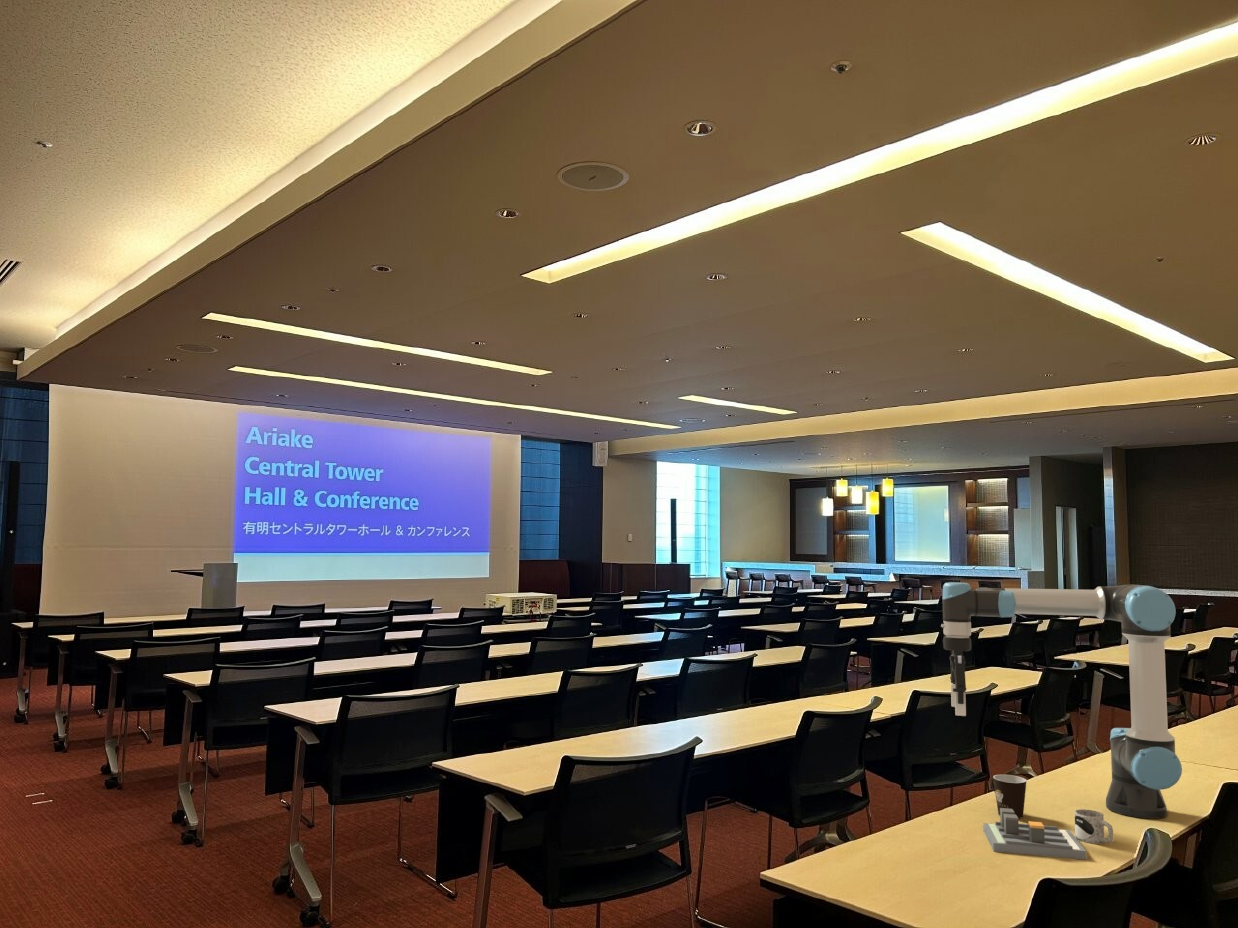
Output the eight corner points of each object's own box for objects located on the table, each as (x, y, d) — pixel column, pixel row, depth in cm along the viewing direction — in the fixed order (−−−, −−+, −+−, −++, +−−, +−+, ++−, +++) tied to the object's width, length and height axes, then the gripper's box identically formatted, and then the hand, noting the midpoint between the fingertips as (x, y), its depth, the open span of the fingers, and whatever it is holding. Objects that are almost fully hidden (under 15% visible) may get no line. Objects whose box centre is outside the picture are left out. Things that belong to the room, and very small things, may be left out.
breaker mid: (1016, 832, 227) (1015, 814, 228) (1018, 836, 224) (1018, 818, 225) (1003, 831, 228) (1003, 813, 228) (1006, 835, 225) (1005, 817, 225)
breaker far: (1012, 826, 232) (1012, 808, 233) (1015, 830, 229) (1014, 812, 230) (1000, 825, 233) (999, 807, 233) (1002, 829, 230) (1002, 811, 230)
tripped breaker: (1041, 841, 221) (1041, 822, 222) (1044, 845, 218) (1044, 826, 219) (1028, 839, 222) (1028, 821, 222) (1031, 844, 219) (1031, 825, 219)
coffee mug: (1031, 821, 244) (1030, 783, 244) (997, 818, 245) (996, 781, 246) (1020, 808, 255) (1019, 772, 256) (988, 806, 257) (988, 770, 258)
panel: (1069, 837, 230) (1069, 827, 230) (1086, 859, 215) (1086, 848, 215) (983, 830, 235) (983, 820, 235) (993, 851, 220) (993, 839, 220)
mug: (1069, 837, 231) (1068, 810, 232) (1087, 833, 234) (1086, 808, 234) (1103, 849, 222) (1102, 822, 222) (1122, 846, 225) (1121, 819, 225)
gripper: (940, 631, 270) (941, 702, 268) (946, 640, 246) (948, 718, 244) (966, 632, 267) (968, 703, 266) (975, 641, 244) (977, 720, 242)
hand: (958, 710), depth 255 cm, fingers open, 13 cm apart
